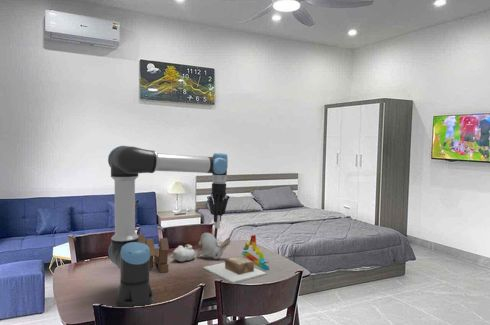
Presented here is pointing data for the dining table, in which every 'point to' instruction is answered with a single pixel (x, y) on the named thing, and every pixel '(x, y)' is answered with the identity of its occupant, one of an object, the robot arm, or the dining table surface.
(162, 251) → the building blocks
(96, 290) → the dining table surface
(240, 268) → the slab
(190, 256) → the cat figurine
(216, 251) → the toy
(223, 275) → the mat
